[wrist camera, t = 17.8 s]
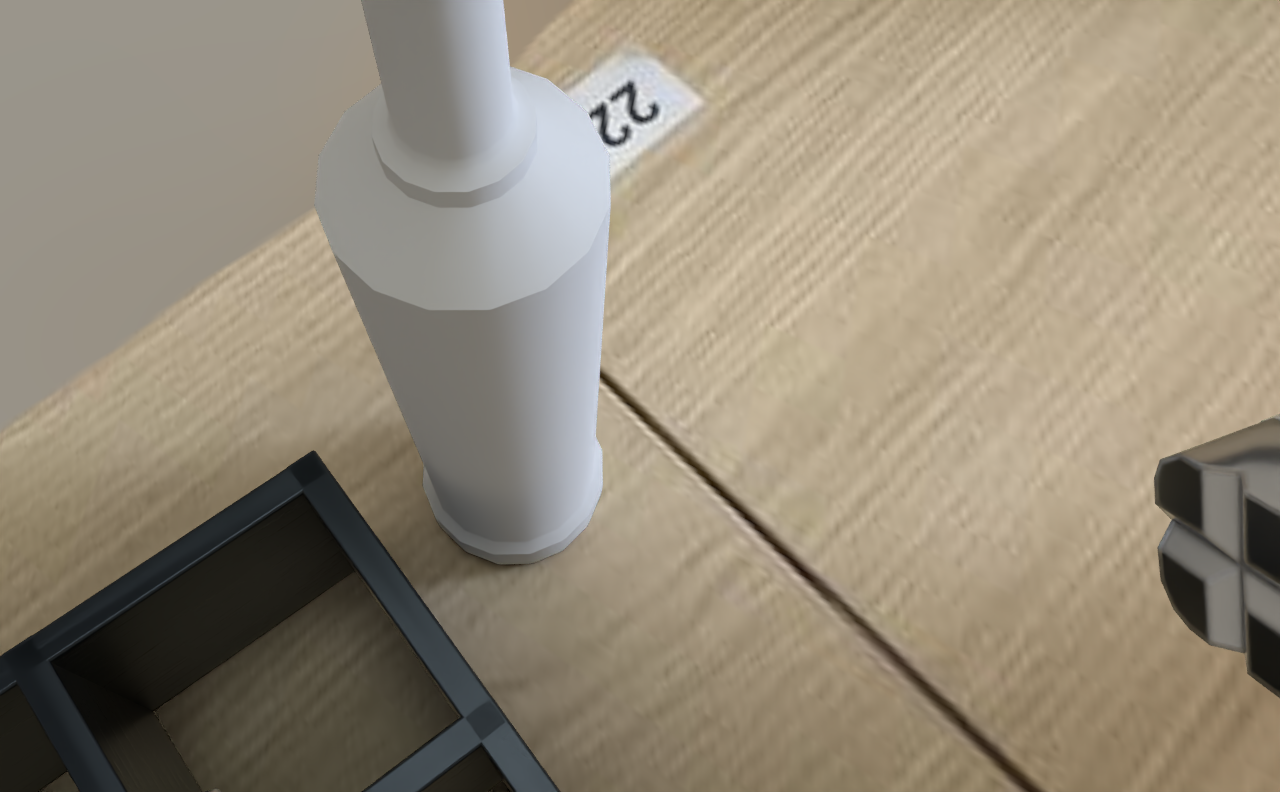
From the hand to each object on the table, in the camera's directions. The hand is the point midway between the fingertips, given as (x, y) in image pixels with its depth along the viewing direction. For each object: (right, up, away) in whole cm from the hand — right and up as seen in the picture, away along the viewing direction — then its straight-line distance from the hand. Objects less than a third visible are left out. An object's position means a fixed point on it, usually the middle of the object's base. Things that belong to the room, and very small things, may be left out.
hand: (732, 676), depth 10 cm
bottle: (-4, -1, +26) cm, 27 cm away
